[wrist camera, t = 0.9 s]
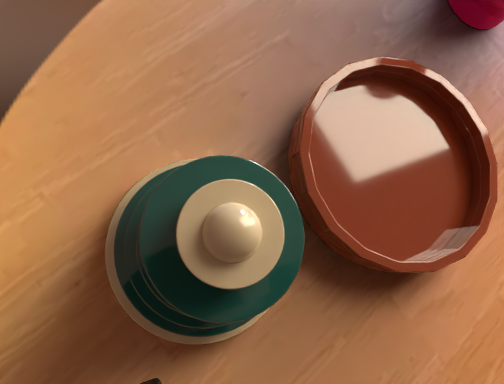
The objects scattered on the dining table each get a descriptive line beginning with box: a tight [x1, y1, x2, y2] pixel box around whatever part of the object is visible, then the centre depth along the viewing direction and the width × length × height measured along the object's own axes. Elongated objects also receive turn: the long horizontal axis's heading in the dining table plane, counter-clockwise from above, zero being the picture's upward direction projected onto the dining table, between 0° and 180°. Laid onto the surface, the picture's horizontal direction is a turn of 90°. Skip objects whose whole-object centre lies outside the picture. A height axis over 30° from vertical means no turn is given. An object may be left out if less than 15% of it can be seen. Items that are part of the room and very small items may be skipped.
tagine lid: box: [105, 155, 305, 345], centre depth 17 cm, size 11×11×13 cm
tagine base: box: [288, 56, 497, 272], centre depth 26 cm, size 15×16×3 cm
